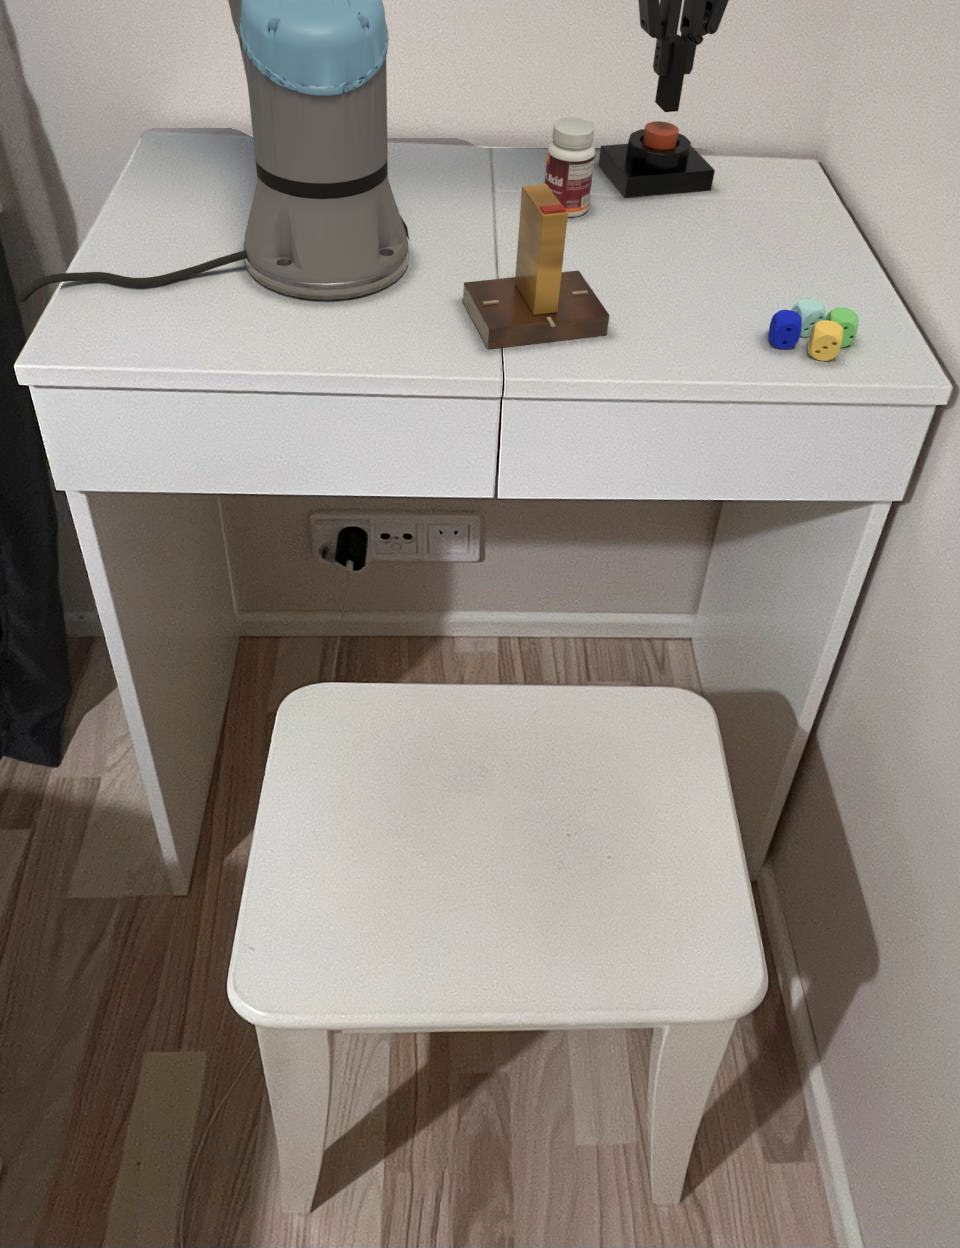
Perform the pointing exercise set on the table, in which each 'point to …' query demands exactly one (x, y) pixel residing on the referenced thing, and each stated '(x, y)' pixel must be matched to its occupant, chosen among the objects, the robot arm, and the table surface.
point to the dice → (814, 328)
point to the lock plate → (514, 323)
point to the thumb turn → (540, 248)
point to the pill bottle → (571, 164)
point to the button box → (655, 168)
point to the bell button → (660, 135)
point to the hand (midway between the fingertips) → (666, 106)
